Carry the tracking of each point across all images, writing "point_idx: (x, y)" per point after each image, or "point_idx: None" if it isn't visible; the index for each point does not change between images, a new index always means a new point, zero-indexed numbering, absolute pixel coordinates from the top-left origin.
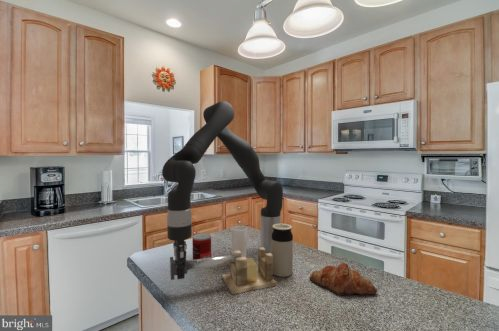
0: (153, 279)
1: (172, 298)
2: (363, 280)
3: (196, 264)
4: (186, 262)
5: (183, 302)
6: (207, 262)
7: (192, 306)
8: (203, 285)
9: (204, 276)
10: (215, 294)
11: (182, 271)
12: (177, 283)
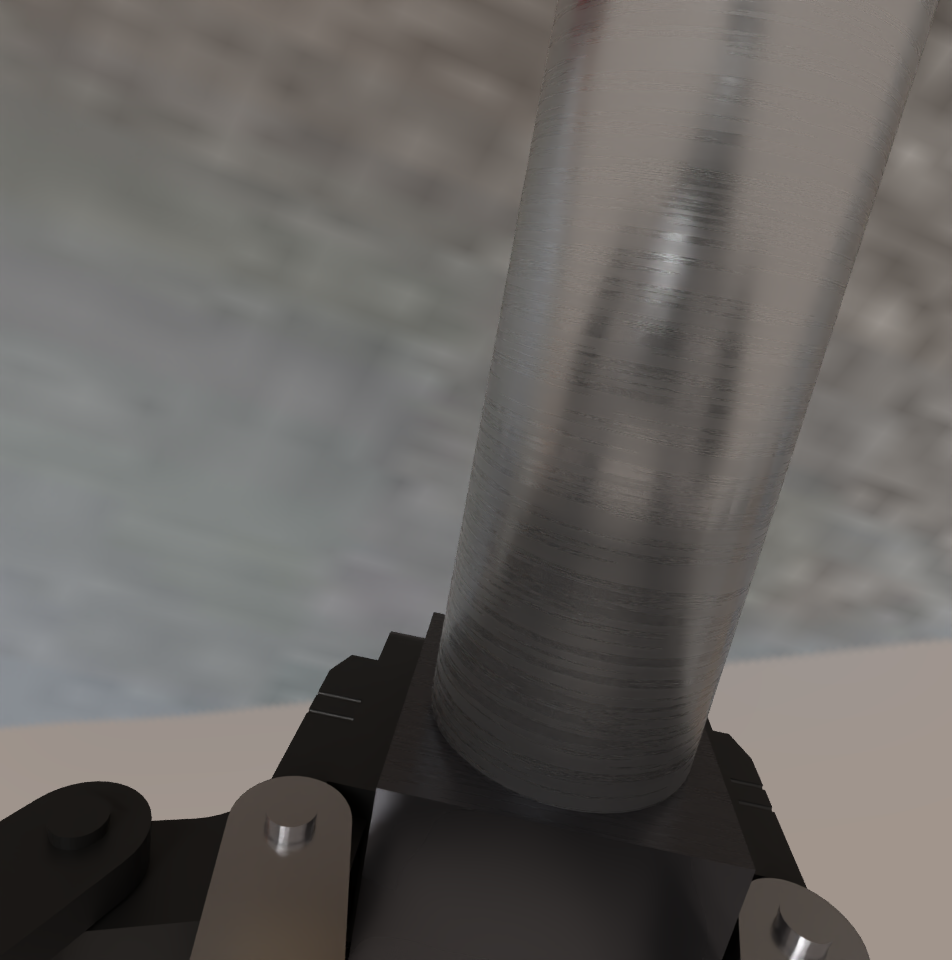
0: (15, 726)
1: None
2: None
3: (771, 509)
4: (726, 878)
5: None
6: (907, 82)
7: (902, 524)
8: (473, 199)
9: (189, 70)
10: None
11: (780, 860)
12: (238, 514)
